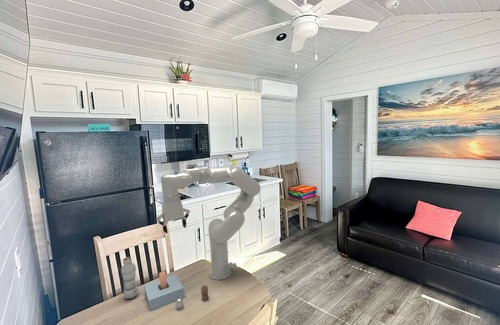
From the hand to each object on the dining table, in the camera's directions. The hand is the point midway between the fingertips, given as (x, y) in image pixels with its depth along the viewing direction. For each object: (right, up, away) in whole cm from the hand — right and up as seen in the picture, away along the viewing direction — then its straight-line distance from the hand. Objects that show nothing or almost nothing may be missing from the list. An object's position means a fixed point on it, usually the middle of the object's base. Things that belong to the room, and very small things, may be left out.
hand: (175, 229), depth 129 cm
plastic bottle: (-20, -32, -5) cm, 38 cm away
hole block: (-4, -31, -6) cm, 32 cm away
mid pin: (+17, -31, -9) cm, 37 cm away
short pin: (+6, -32, -15) cm, 36 cm away
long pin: (-4, -31, -6) cm, 32 cm away
